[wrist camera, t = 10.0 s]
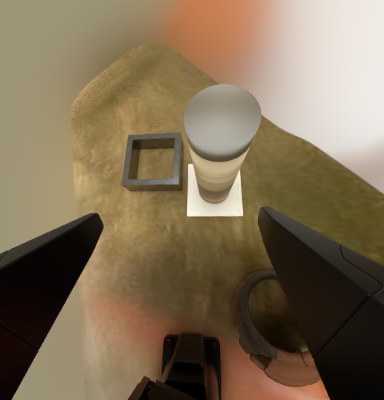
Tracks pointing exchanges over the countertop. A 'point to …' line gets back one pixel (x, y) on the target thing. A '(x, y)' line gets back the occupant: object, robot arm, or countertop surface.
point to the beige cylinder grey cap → (220, 136)
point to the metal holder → (150, 143)
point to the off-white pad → (204, 209)
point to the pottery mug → (256, 345)
